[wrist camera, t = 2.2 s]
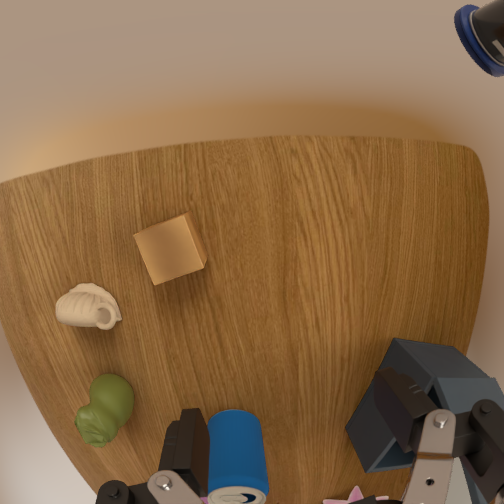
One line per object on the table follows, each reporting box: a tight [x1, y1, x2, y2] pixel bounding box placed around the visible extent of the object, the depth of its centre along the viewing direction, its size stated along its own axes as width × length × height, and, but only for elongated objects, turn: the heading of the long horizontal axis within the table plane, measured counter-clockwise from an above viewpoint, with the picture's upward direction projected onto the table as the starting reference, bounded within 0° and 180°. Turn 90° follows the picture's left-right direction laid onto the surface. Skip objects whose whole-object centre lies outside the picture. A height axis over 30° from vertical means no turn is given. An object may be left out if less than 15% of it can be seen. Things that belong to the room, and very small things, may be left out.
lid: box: [432, 377, 504, 504], centre depth 17 cm, size 15×12×1 cm
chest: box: [345, 338, 490, 473], centre depth 29 cm, size 15×12×9 cm
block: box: [134, 211, 208, 285], centre depth 25 cm, size 4×4×4 cm
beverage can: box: [207, 410, 269, 504], centre depth 27 cm, size 6×6×12 cm
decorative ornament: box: [56, 283, 122, 330], centre depth 26 cm, size 4×8×5 cm, turn 87°
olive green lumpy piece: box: [74, 374, 134, 447], centre depth 26 cm, size 6×5×10 cm
